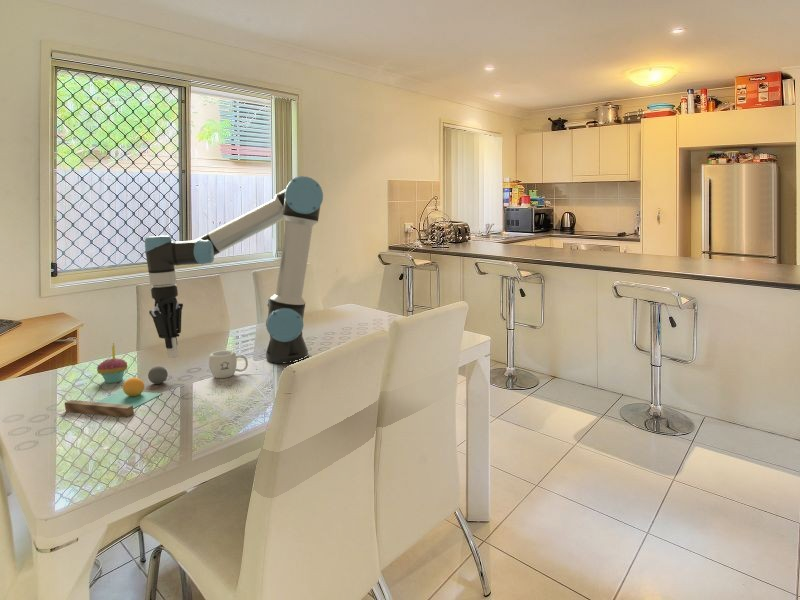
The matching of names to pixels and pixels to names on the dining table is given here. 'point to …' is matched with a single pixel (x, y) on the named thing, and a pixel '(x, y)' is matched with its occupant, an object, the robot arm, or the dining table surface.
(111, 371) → the cupcake
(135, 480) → the dining table surface
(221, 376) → the mug
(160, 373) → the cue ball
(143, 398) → the teal mark
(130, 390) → the orange ball
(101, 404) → the wall
